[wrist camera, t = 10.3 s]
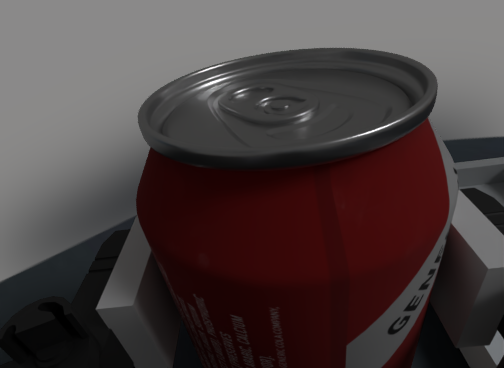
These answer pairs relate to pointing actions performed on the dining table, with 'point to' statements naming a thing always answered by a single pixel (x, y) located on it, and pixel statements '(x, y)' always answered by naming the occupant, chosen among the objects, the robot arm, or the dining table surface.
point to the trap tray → (483, 176)
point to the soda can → (299, 206)
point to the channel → (485, 353)
